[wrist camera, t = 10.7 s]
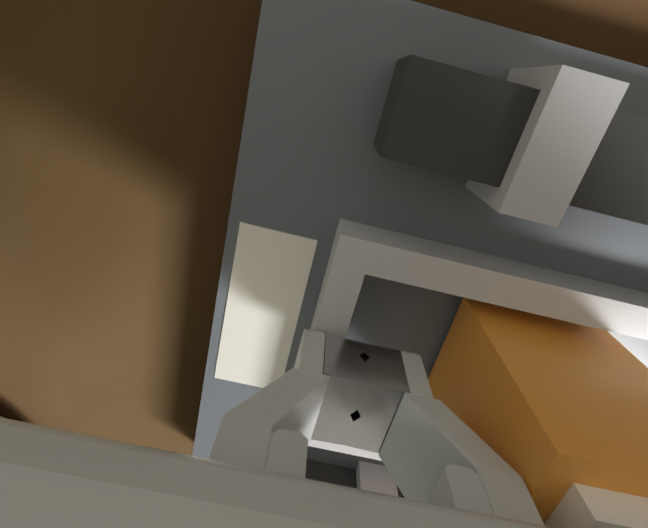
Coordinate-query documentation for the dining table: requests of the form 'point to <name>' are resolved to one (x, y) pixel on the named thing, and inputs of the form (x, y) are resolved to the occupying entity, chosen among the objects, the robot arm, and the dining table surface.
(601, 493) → the toggle
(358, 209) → the breaker board
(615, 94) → the pair of dark bars
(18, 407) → the dining table surface
